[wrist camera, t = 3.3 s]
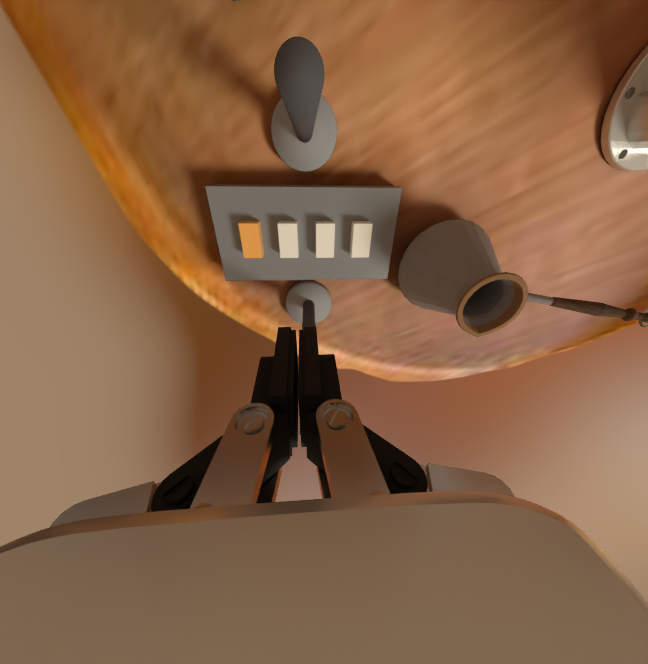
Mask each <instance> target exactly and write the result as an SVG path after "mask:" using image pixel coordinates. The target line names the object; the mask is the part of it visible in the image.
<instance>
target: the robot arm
mask: <svg viewBox="0 0 648 664" xmlns="http://www.w3.org/2000/svg"><path fill="white" fill-rule="evenodd" d="M601 146H602V152H603V155H604V157H605V159H606V161H607V162H608V163H609V164H610V165H611V166H612V167H615V168H617V169H619V170H624V171H644V170H648V45H647V46H646V47H645V48H644V50H643V51H642V52H641V53H640V55H639V56H638V57H637V58H636V60H635V61H634V62H633V63H632V65H631V66H630V67H629V69H628V71H627V72H626V74H625V75H624V77H623V78H622V80H621V81H620V83H619V85H618V87H617V89H616V91H615V92H614V94H613V96H612V98H611V101H610V103H609V106H608V108H607V111H606V114H605V117H604V121H603V125H602V131H601ZM298 399H299V415H300V430H301V444H302V447H307V458H308V459H309V460H310V461H311V462H313V463H314V464H315V465H316V466H317V474H318V479H319V484H320V489H321V495H322V499H314V500H300V501H287V502H275V500H276V496H277V491H278V487H279V482H280V477H281V473H282V466H283V465H284V464H285V463H286V462H287V461H288V460H289V459H290V456H292V447H297V441H298ZM0 664H648V602H647V601H646V600H645V598H644V597H643V596H642V595H641V594H640V592H639V591H638V590H637V589H636V588H635V586H634V585H633V584H632V583H631V582H630V580H629V579H628V578H627V577H626V576H625V575H624V573H623V572H622V571H621V570H620V569H619V568H618V567H617V565H615V563H614V562H613V561H612V560H611V559H610V558H609V556H608V555H607V554H606V553H605V552H604V551H603V550H602V549H601V548H600V547H599V546H598V545H597V544H596V543H595V542H594V541H593V540H592V539H591V538H590V537H589V536H588V535H587V534H586V533H585V532H584V531H582V530H581V529H580V528H579V527H577V526H576V525H575V524H574V523H573V522H571V521H569V520H568V519H566V518H565V517H563V516H561V515H560V514H557V513H555V512H553V511H551V510H549V509H547V508H545V507H542V506H540V505H538V504H535V503H532V502H530V501H527V500H524V499H521V498H517V497H515V496H514V495H513V493H512V491H511V489H510V488H509V487H508V486H507V485H506V484H505V483H504V482H503V481H502V480H500V479H499V478H497V477H495V476H494V475H490V474H488V473H483V472H477V471H471V470H466V469H460V468H454V467H448V466H442V465H436V464H431V463H428V464H427V466H425V465H419V464H418V463H417V462H416V461H415V460H414V459H412V458H411V457H409V456H408V455H406V454H405V453H404V452H402V451H401V450H399V449H398V448H396V447H395V446H393V445H392V444H390V443H389V442H387V441H386V440H384V439H383V438H382V437H380V436H379V435H377V434H376V433H374V432H373V431H371V430H370V429H368V428H367V427H365V426H364V425H362V423H361V420H360V418H359V415H358V413H357V411H356V409H355V407H354V406H353V405H351V404H350V403H349V402H347V401H344V400H342V398H341V392H340V386H339V380H338V374H337V367H336V361H335V356H334V354H329V355H318V343H317V331H316V326H311V327H304V330H299V376H298V359H297V342H296V330H291V327H279V328H278V333H277V340H276V347H275V354H274V356H272V357H261V359H260V363H259V368H258V372H257V377H256V381H255V386H254V390H253V395H252V401H251V404H247V405H245V406H243V407H241V408H239V409H238V410H237V411H236V412H235V413H234V414H233V416H232V418H231V419H230V422H229V424H228V426H227V428H226V430H225V433H224V435H222V436H221V437H220V438H218V439H217V440H216V441H214V442H213V443H212V444H210V445H209V446H208V447H206V448H205V449H203V450H202V451H201V452H200V453H198V454H197V455H195V456H194V457H193V458H191V459H190V460H189V461H187V462H186V463H185V464H183V465H182V466H181V467H179V468H178V469H177V470H175V471H174V472H173V473H171V474H170V475H169V476H168V477H167V478H165V479H164V480H163V481H162V482H160V483H157V484H155V482H154V481H152V482H148V483H145V484H141V485H138V486H134V487H131V488H127V489H123V490H120V491H117V492H113V493H109V494H106V495H103V496H99V497H95V498H92V499H88V500H85V501H82V502H80V503H77V504H75V505H73V506H72V507H70V508H69V509H67V510H66V511H64V512H63V513H62V514H61V515H60V516H59V517H58V518H57V519H56V520H55V521H54V522H53V523H52V524H51V526H50V527H49V528H46V529H43V530H40V531H37V532H35V533H32V534H29V535H27V536H24V537H21V538H19V539H16V540H14V541H12V542H10V543H7V544H5V545H3V546H0Z"/></svg>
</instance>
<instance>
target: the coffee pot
mask: <svg viewBox="0 0 648 664" xmlns="http://www.w3.org/2000/svg"><path fill="white" fill-rule="evenodd" d="M398 280H399V286H400V289H401V291H402V293H403V295H404V297H405V298H406V299H408V300H409V301H410V302H411V303H412V304H414V305H416V306H418V307H421V308H424V309H429V310H433V311H438V312H442V313H446V314H451V315H455V316H456V320H457V322H458V325H459V326H460V327H461V328H462V329H463V330H464V331H466V332H467V333H469V334H471V335H474V336H476V337H479V336H482V335H486V334H489V333H491V332H494V331H496V330H498V329H501V328H503V327H504V326H506V325H507V324H509V323H510V322H511V321H513V320H514V319H515V318H516V317H517V316H518V315H519V313H520V312H521V310H522V309H523V308H524V306H525V303H526V301H528V302H534V303H541V304H547V305H550V306H554V307H559V308H563V309H567V310H572V311H576V312H581V313H585V314H590V315H594V316H607V317H621V318H622V319H623V320H625V321H631V320H634V319H635V320H639V324H640V326H642V327H648V325H647V326H643V324H642V322H648V313H646V312H647V311H648V308H647V309H646V310H644V311H643V312H642V313H639V312H637V311H636V310H635V309H633V308H628V309H625V310H624V309H621V308H617V307H614V306H610V305H607V304H604V303H598V302H590V301H582V300H574V299H566V298H557V297H547V296H542V295H537V294H531V293H528V288H527V284H526V283H525V281H524V280H523V279H522V278H521V277H520V276H518V275H516V274H513V273H507V272H504V273H502V272H501V269H500V266H499V264H498V261H497V258H496V255H495V253H494V250H493V247H492V244H491V242H490V239H489V237H488V235H487V234H486V233H485V231H484V230H483V229H482V228H481V227H480V226H478V225H476V224H475V223H473V222H471V221H466V220H461V219H457V220H446V221H443V222H440V223H438V224H435V225H432V226H431V227H429V228H428V229H426V230H425V231H423V232H421V233H420V234H419V235H418V236H417V237H416V238H415V239H414V240H413V241H412V242H411V243H410V244H409V246H408V247H407V249H406V250H405V252H404V254H403V257H402V259H401V262H400V265H399V272H398Z"/></svg>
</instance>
